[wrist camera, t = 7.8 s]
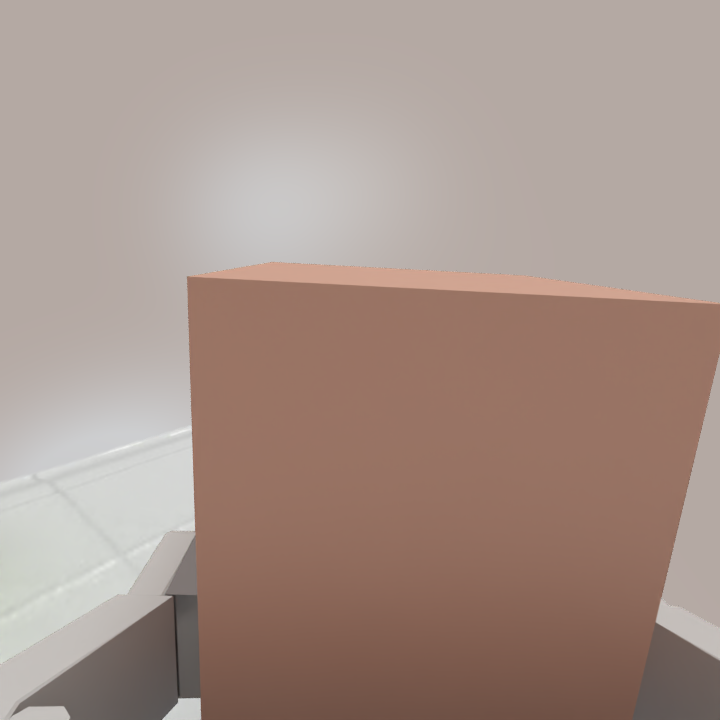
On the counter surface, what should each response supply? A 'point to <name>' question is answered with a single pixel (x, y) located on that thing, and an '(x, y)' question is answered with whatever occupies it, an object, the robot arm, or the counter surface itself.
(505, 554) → the brick stack
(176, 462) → the counter surface
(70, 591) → the counter surface
